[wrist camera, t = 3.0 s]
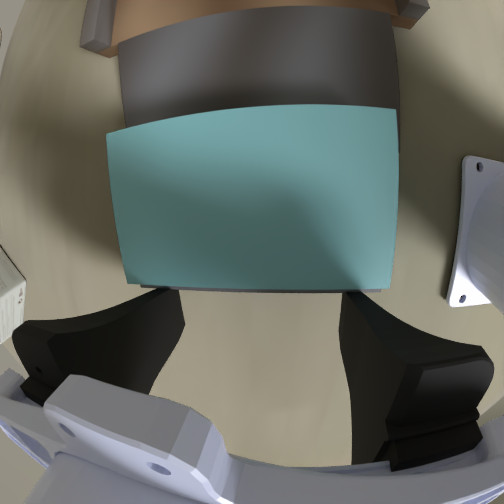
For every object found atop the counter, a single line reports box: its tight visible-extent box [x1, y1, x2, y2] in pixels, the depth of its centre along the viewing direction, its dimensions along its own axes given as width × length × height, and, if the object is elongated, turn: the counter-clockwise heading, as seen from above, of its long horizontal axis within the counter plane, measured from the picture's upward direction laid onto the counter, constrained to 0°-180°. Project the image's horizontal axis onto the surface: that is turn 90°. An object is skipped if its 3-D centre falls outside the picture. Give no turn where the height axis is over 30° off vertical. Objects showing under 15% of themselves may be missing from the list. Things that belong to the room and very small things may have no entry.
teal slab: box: [106, 104, 399, 293], centre depth 10 cm, size 10×7×4 cm, turn 93°
